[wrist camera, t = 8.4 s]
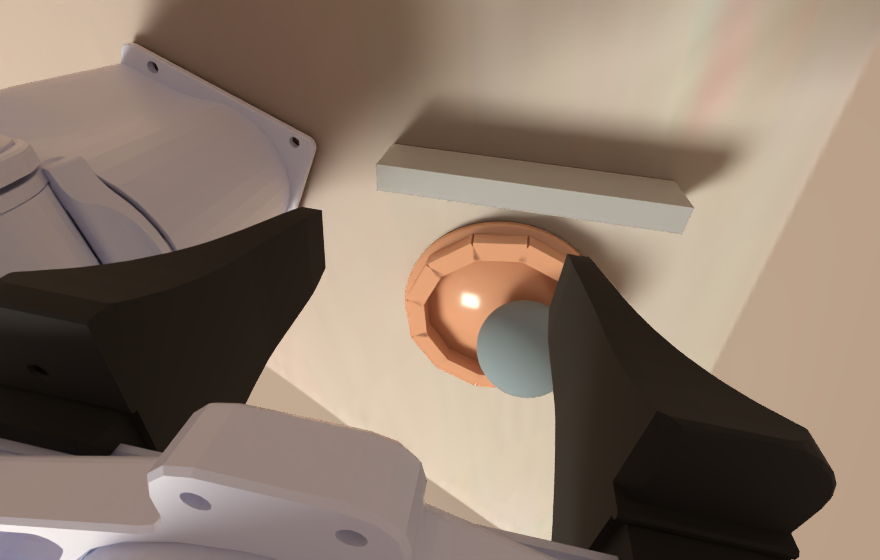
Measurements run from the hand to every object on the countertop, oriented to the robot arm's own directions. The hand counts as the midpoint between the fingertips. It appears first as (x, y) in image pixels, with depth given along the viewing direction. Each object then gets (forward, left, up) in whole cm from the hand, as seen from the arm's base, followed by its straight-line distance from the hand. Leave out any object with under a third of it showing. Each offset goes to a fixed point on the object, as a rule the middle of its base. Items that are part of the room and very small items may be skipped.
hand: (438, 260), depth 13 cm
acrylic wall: (+3, 0, -9) cm, 10 cm away
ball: (+7, -7, -6) cm, 11 cm away
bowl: (+6, -7, -9) cm, 13 cm away
